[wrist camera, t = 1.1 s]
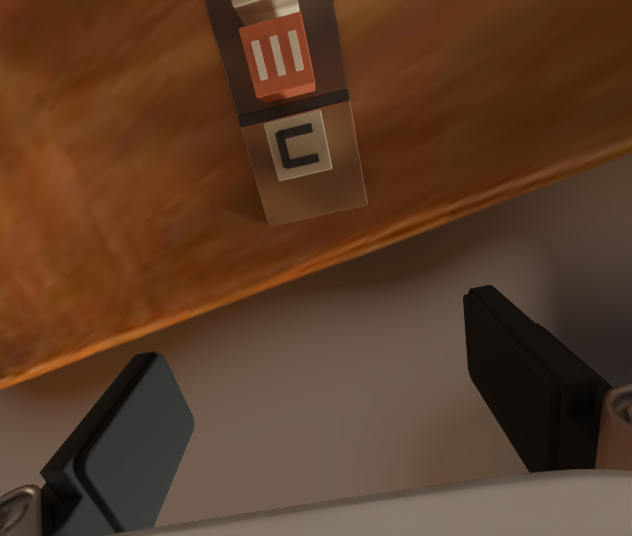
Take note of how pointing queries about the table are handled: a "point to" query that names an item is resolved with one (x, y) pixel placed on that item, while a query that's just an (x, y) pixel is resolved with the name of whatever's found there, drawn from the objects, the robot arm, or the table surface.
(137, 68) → the table surface
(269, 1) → the tile
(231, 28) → the letter board
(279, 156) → the tile
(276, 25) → the three-striped orange cube
